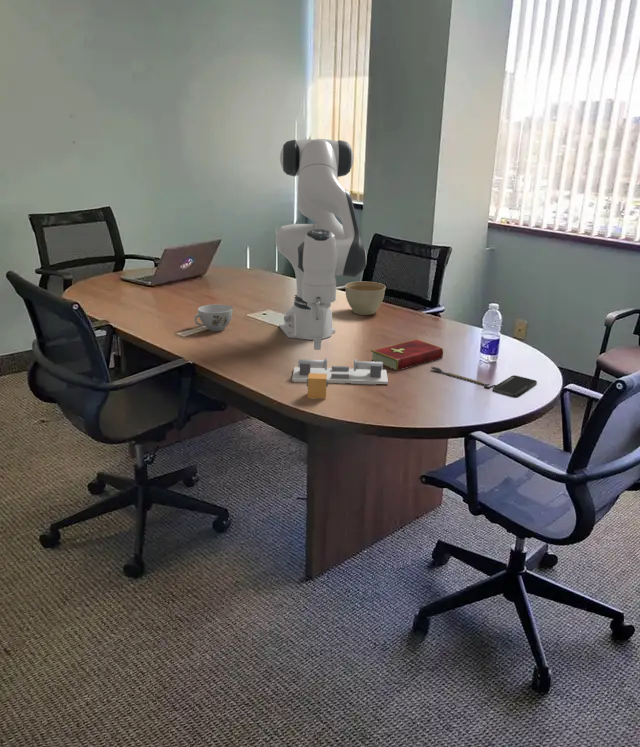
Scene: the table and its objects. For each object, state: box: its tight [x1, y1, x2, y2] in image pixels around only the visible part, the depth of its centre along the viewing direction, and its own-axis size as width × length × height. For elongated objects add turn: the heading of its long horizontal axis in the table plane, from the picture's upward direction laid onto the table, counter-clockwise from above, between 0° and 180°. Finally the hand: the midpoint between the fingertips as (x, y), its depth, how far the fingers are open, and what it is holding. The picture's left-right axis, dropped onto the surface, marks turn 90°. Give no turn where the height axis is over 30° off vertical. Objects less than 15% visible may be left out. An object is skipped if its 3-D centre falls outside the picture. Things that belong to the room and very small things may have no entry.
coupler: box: [306, 373, 329, 399], centre depth 184 cm, size 6×4×6 cm
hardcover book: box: [370, 338, 444, 371], centre depth 215 cm, size 12×21×4 cm, turn 128°
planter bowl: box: [344, 280, 386, 316], centre depth 267 cm, size 16×16×11 cm
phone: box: [492, 374, 538, 398], centre depth 194 cm, size 8×1×15 cm
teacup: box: [194, 303, 234, 332], centre depth 241 cm, size 15×12×8 cm
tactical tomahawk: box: [430, 366, 497, 390], centre depth 201 cm, size 21×7×1 cm, turn 46°
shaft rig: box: [291, 357, 389, 385], centre depth 198 cm, size 28×10×6 cm, turn 88°
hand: (318, 343), depth 179 cm, fingers open, 8 cm apart
